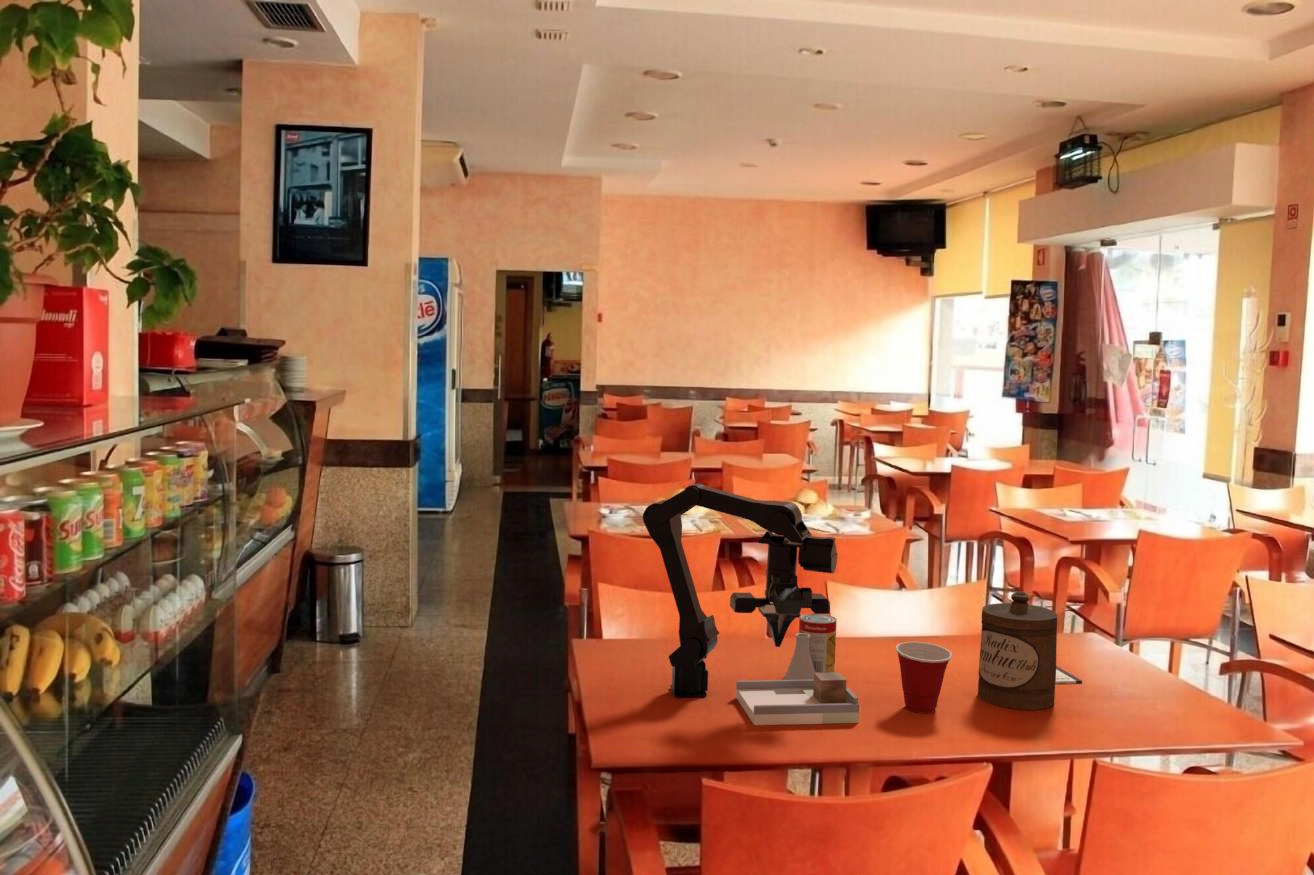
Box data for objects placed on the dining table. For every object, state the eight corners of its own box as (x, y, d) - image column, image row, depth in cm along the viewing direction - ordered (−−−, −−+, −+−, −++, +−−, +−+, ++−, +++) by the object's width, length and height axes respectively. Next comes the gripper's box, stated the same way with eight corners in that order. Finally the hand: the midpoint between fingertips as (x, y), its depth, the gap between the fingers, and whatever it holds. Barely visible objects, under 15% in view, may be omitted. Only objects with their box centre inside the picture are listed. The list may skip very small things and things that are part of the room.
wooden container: (963, 696, 229) (968, 589, 227) (1004, 683, 238) (1009, 581, 237) (1028, 715, 218) (1034, 604, 216) (1068, 701, 227) (1074, 594, 225)
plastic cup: (917, 721, 213) (920, 659, 212) (881, 704, 222) (884, 644, 221) (961, 713, 218) (964, 653, 217) (924, 697, 227) (926, 639, 226)
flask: (817, 688, 232) (818, 640, 231) (781, 685, 233) (783, 637, 232) (819, 678, 239) (821, 631, 238) (785, 675, 240) (786, 629, 239)
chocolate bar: (1041, 657, 257) (1082, 680, 240) (1041, 661, 258) (1081, 685, 240) (1004, 657, 256) (1042, 681, 238) (1004, 662, 256) (1042, 685, 239)
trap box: (754, 725, 208) (755, 701, 208) (736, 697, 224) (736, 675, 223) (858, 722, 211) (859, 699, 211) (833, 695, 227) (834, 674, 226)
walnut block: (820, 703, 215) (821, 680, 215) (813, 695, 220) (814, 672, 220) (845, 702, 216) (846, 679, 216) (837, 694, 221) (838, 672, 221)
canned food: (833, 668, 246) (835, 614, 245) (835, 679, 238) (837, 623, 237) (797, 666, 247) (799, 612, 246) (798, 677, 239) (800, 621, 238)
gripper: (743, 575, 209) (738, 658, 210) (840, 577, 211) (835, 658, 213) (731, 563, 220) (727, 641, 221) (824, 565, 222) (819, 642, 224)
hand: (777, 646), depth 219 cm, fingers closed
